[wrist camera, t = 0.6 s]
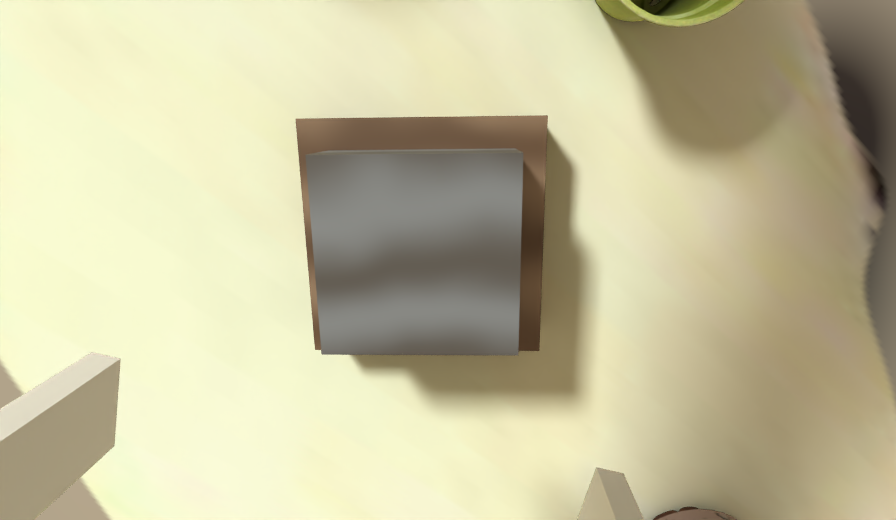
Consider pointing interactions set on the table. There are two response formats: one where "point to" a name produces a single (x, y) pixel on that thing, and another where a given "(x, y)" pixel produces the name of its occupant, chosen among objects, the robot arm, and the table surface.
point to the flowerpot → (693, 515)
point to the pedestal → (424, 233)
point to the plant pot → (669, 11)
